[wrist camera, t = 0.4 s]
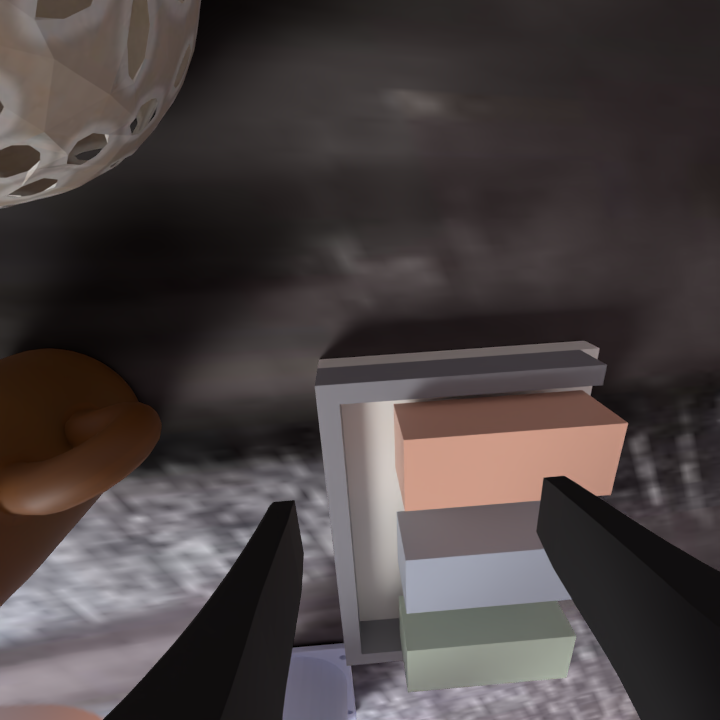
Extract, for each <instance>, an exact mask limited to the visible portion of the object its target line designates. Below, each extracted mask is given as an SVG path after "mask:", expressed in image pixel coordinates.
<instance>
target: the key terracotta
mask: <svg viewBox="0 0 720 720" xmlns="http://www.w3.org/2000/svg"><path fill="white" fill-rule="evenodd" d="M627 426H628V423H627V422H626V421H625V420H623V419H622V418H620V417H619V416H618V415H616V414H615V413H613V412H612V411H611V410H609V409H608V408H606V407H605V406H604V405H602V404H601V403H600V402H598V401H597V400H595V399H594V398H593V397H591V396H590V395H588V394H587V393H586V392H584V391H583V390H576V391H562V392H549V393H535V394H522V395H508V396H495V397H481V398H468V399H454V400H441V401H427V402H414V403H400V404H394V438H395V468H396V473H397V477H398V482H399V487H400V491H401V496H402V501H403V505H404V510H405V511H417V510H429V509H442V508H454V507H466V506H479V505H491V504H503V503H516V502H528V501H540V500H541V492H542V485H543V478H545V477H556V476H566V477H567V478H569V479H571V480H572V481H574V482H575V483H577V484H579V485H580V486H582V487H583V488H585V489H586V490H588V491H589V492H591V493H592V494H594V495H595V496H602V495H611V492H612V488H613V483H614V479H615V475H616V471H617V467H618V463H619V459H620V455H621V450H622V446H623V442H624V438H625V434H626V430H627Z"/></svg>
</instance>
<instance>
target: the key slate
mask: <svg viewBox="0 0 720 720" xmlns="http://www.w3.org/2000/svg"><path fill="white" fill-rule="evenodd" d="M539 507H540V501H528V502H516V503H503V504H491V505H479V506H466V507H454V508H442V509H429V510H417V511H399V512H397V548H398V565H399V571H400V577H401V583H402V589H403V595H404V601H405V607H406V613H407V614H410V613H421V612H433V611H444V610H456V609H467V608H479V607H490V606H501V605H513V604H524V603H536V602H547V601H559V600H570V599H572V598H571V597H570V595H569V594H568V592H567V590H566V589H565V587H564V585H563V584H562V582H561V580H560V579H559V577H558V575H557V574H556V572H555V570H554V569H553V567H552V565H551V563H550V561H549V558H548V556H547V554H546V552H545V550H544V548H543V546H542V543H541V541H540V539H539V537H538V535H537V532H536V529H537V522H538V514H539Z"/></svg>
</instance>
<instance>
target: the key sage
mask: <svg viewBox="0 0 720 720" xmlns="http://www.w3.org/2000/svg"><path fill="white" fill-rule="evenodd" d="M399 621H400V640H401V647H402V654H403V661H404V668H405V675H406V683H407V690H408V692H417V691H428V690H439V689H450V688H460V687H471V686H482V685H493V684H504V683H515V682H525V681H536V680H547V679H558V678H566V677H567V673H568V669H569V665H570V661H571V657H572V652H573V648H574V644H575V640H576V634H575V633H574V631H573V629H572V627H571V625H570V624H569V622H568V620H567V618H566V616H565V615H564V613H563V611H562V609H561V608H560V606H559V604H558V602H557V601H547V602H536V603H524V604H513V605H501V606H490V607H479V608H467V609H456V610H444V611H433V612H421V613H410V614H407V613H406V607H405V601H404V596H399Z"/></svg>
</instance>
